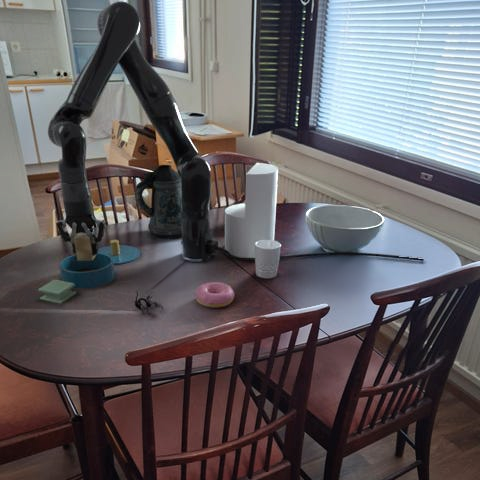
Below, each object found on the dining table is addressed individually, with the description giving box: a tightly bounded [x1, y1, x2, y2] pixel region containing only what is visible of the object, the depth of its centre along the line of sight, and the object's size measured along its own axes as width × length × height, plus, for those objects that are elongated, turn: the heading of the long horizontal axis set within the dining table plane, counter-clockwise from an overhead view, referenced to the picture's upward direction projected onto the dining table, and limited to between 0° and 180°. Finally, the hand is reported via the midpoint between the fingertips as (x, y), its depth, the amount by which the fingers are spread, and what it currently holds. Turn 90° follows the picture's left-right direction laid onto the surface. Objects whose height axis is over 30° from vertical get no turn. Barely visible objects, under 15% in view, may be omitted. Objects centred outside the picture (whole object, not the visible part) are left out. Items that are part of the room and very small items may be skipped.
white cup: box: [254, 239, 282, 279], centre depth 148 cm, size 8×8×10 cm
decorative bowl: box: [304, 204, 385, 253], centre depth 168 cm, size 27×27×12 cm
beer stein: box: [134, 164, 182, 241], centre depth 174 cm, size 16×19×25 cm
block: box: [74, 232, 95, 261], centre depth 140 cm, size 4×4×7 cm
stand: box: [38, 279, 77, 304], centre depth 133 cm, size 7×7×4 cm
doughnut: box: [194, 281, 235, 309], centre depth 133 cm, size 11×11×4 cm
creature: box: [133, 290, 164, 318], centre depth 127 cm, size 8×5×8 cm
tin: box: [59, 253, 116, 290], centre depth 144 cm, size 15×15×6 cm
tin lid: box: [98, 239, 141, 266], centre depth 159 cm, size 16×16×6 cm
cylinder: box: [224, 162, 279, 258], centre depth 162 cm, size 17×17×28 cm
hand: (86, 254), depth 141 cm, fingers closed on block, 4 cm apart
